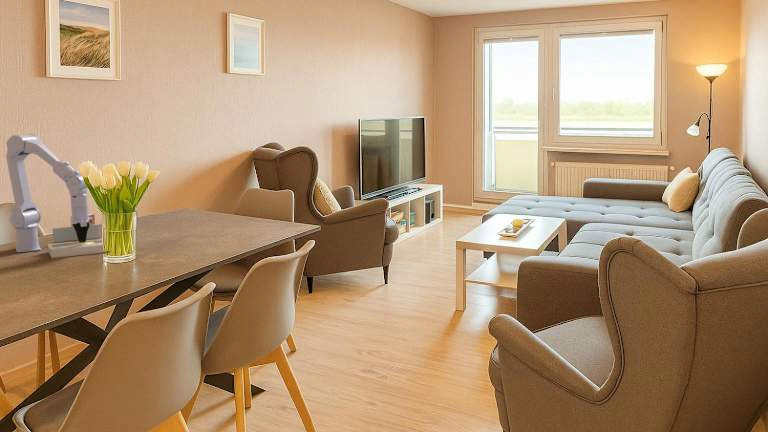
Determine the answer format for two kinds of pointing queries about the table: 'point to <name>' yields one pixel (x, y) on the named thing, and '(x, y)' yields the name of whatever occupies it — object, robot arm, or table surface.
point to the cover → (73, 234)
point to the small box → (91, 222)
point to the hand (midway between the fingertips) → (82, 242)
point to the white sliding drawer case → (75, 249)
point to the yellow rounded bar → (80, 243)
